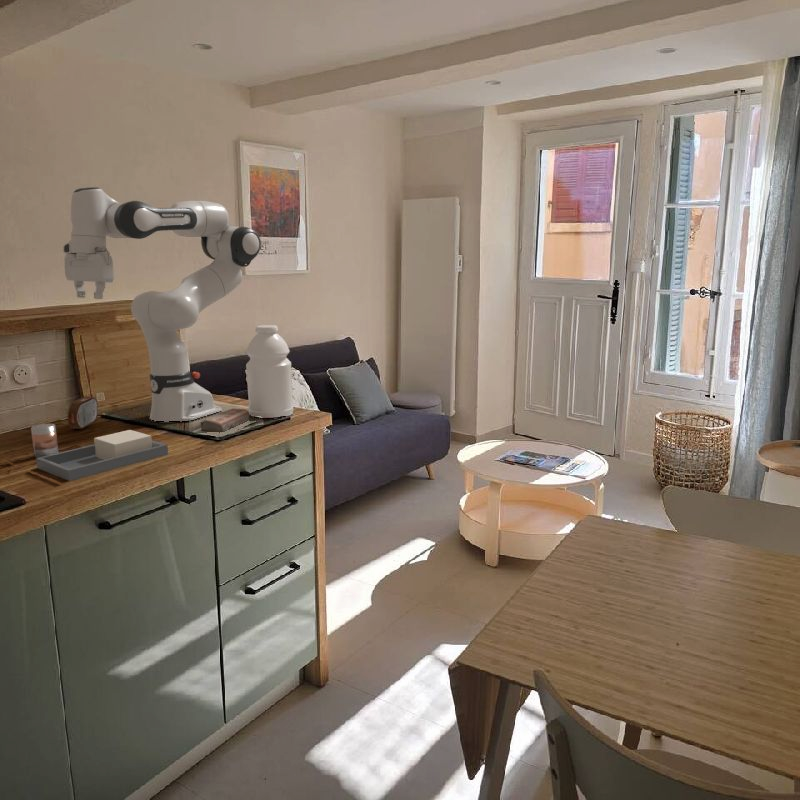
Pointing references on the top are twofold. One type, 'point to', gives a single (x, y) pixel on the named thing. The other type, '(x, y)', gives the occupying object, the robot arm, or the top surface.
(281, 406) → the bottle
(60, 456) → the tray
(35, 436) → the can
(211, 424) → the packaged product
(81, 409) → the brown grey rounded block
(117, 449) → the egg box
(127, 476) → the top surface
